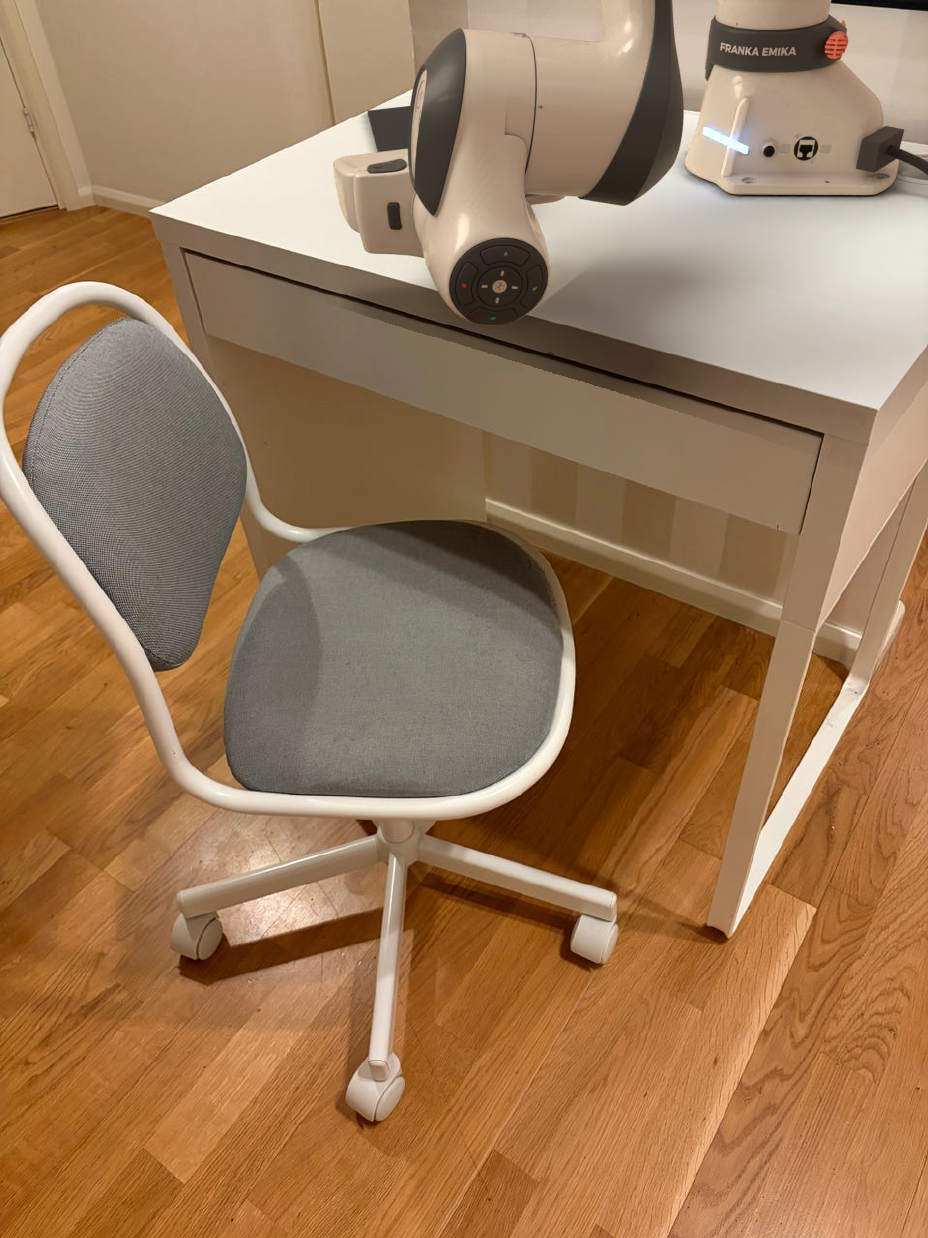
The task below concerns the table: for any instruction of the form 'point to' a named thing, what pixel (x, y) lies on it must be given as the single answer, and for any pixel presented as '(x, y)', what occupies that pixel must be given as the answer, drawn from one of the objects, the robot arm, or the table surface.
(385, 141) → the mat
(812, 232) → the table surface
